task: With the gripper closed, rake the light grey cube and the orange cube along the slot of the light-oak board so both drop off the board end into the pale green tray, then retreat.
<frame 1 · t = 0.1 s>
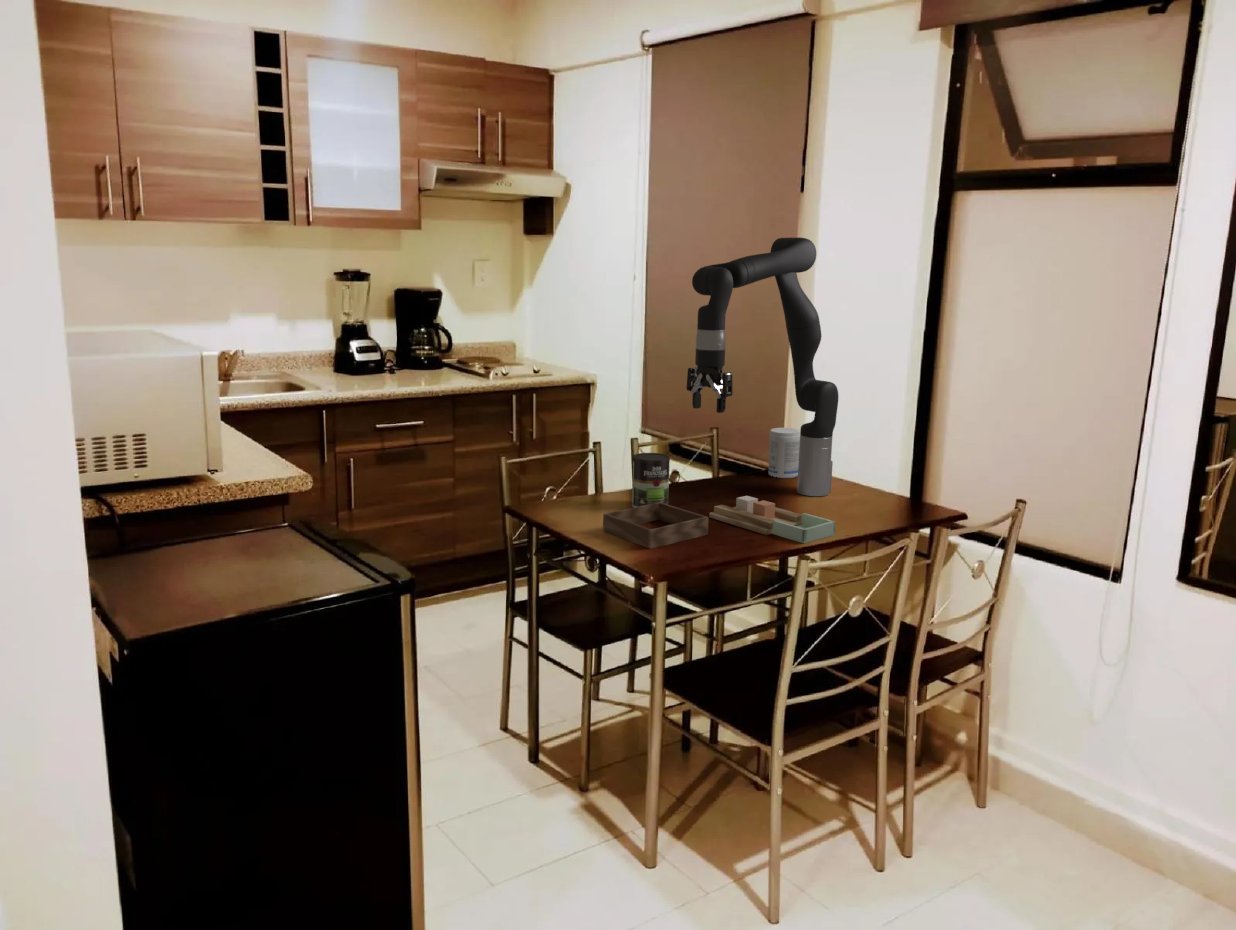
hand: (708, 410, 244), 29 cm above the table, fingers open, 8 cm apart
orange cube: (763, 517, 247), point 1 cm above the table, touching slot board
coffee can: (650, 506, 262), on the table
tray: (803, 534, 237), on the table
supplement tub: (783, 476, 299), on the table
brown shallow square box: (655, 532, 237), on the table
light grey cube: (746, 512, 252), point 1 cm above the table, touching slot board
slot board: (757, 520, 249), on the table
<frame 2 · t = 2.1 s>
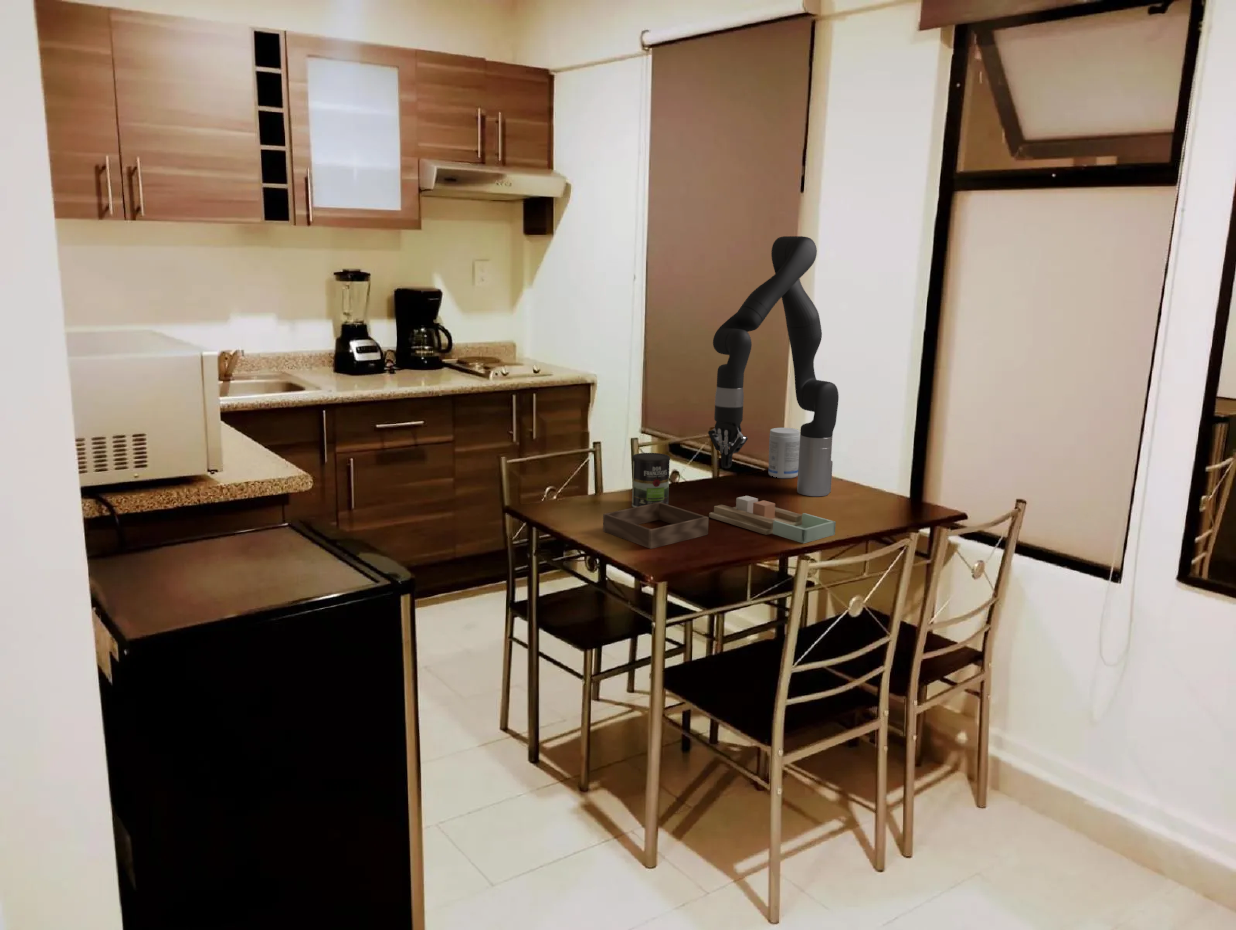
hand: (726, 467, 255), 12 cm above the table, fingers closed
nothing on the table moved.
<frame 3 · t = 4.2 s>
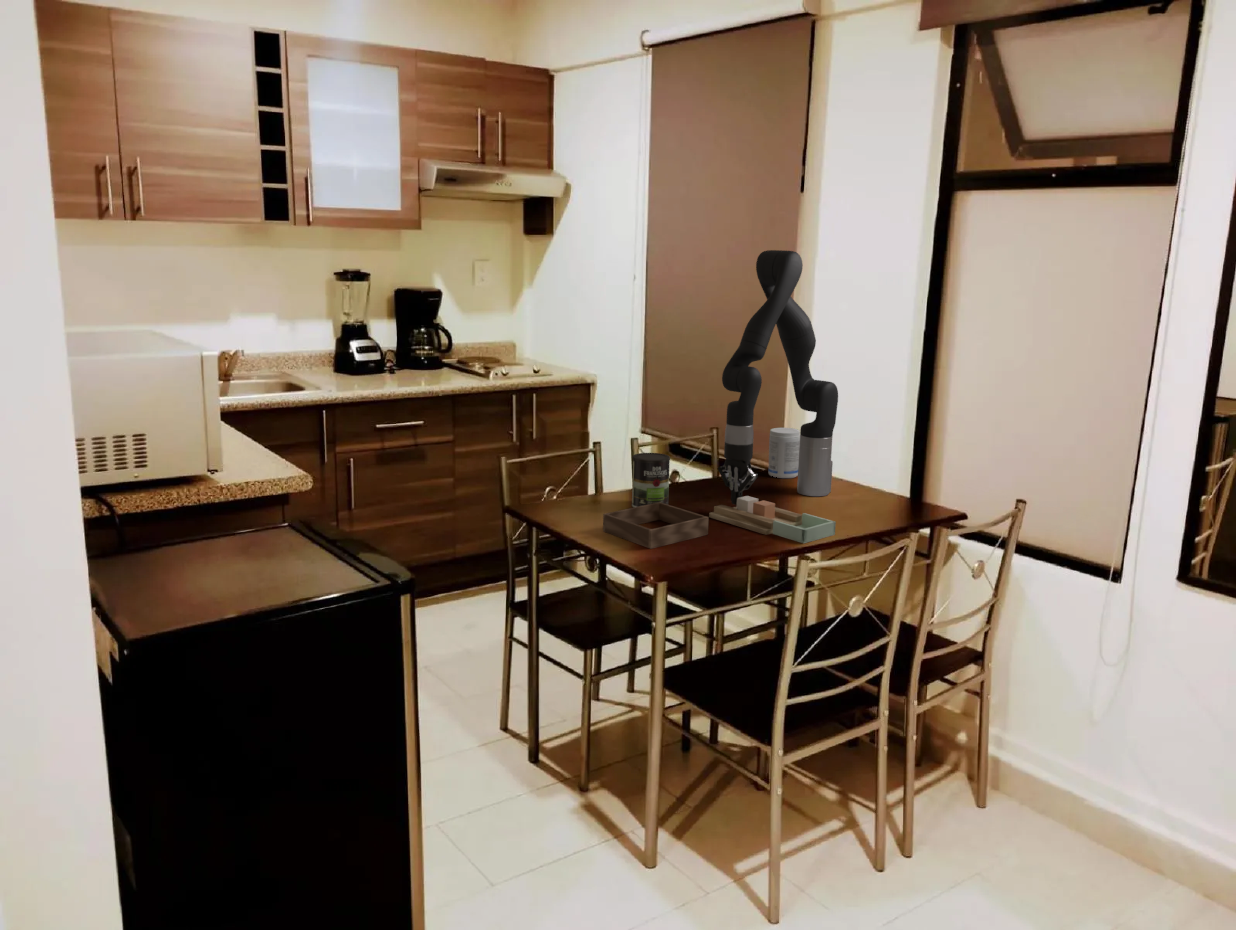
hand: (736, 503, 254), 3 cm above the table, fingers closed
light grey cube: (747, 513, 251), point 1 cm above the table, touching gripper, slot board
everything else where it was.
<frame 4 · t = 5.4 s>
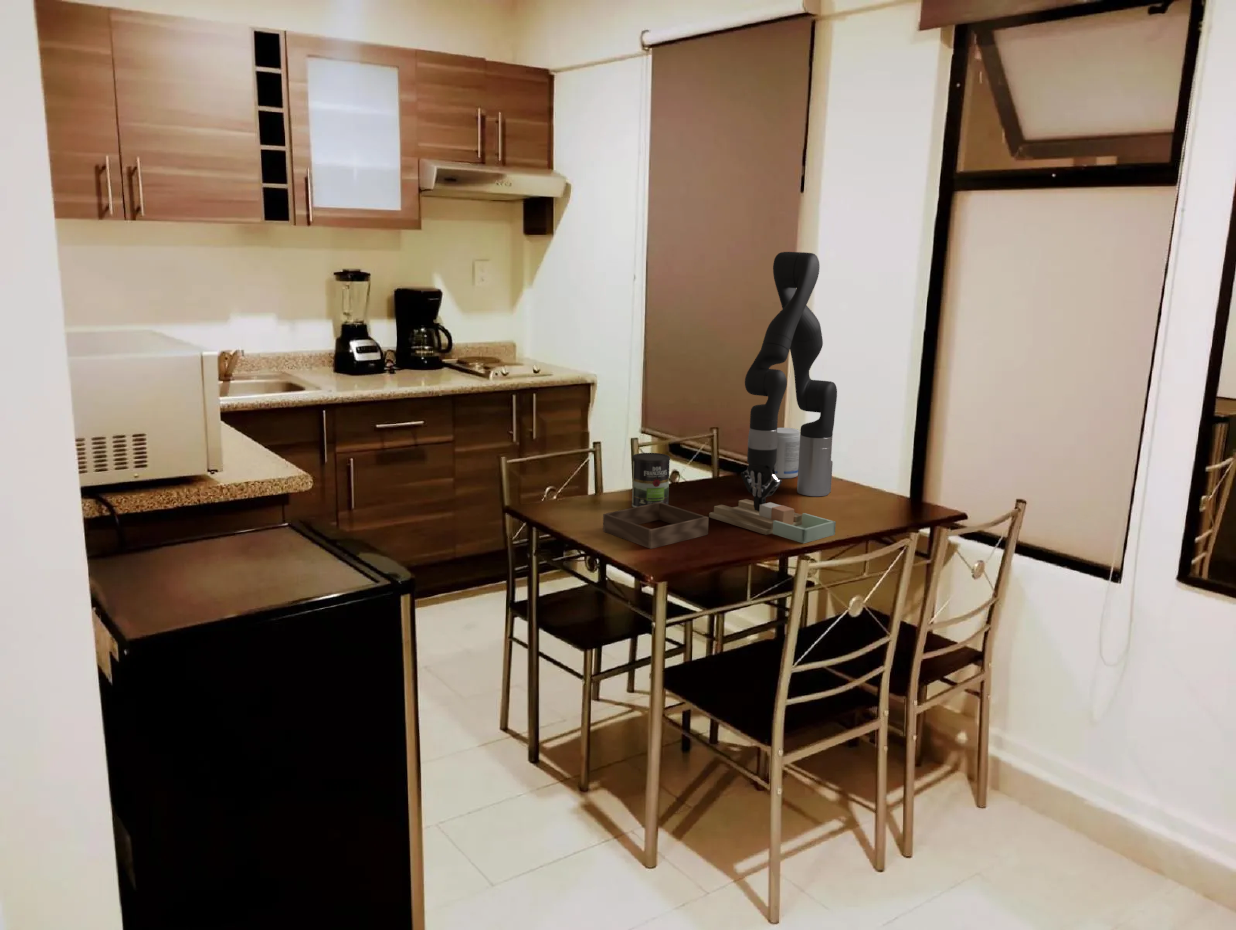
hand: (759, 510, 248), 3 cm above the table, fingers closed
orange cube: (782, 523, 242), point 1 cm above the table, touching light grey cube
light grey cube: (769, 520, 245), point 1 cm above the table, touching gripper, slot board, orange cube
everything else where it was.
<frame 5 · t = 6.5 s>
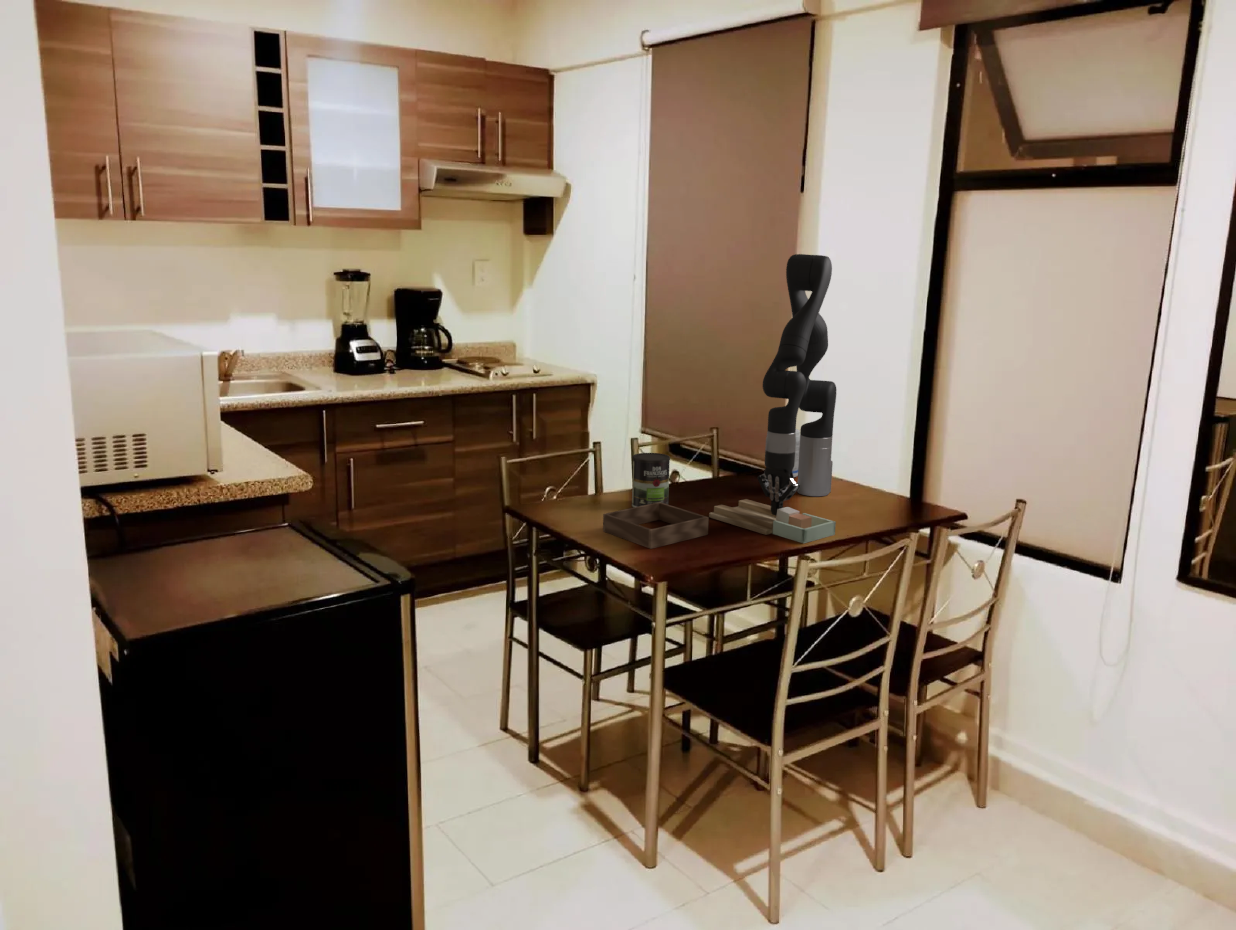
hand: (776, 514, 243), 3 cm above the table, fingers closed
orange cube: (799, 531, 238), resting on tray, touching light grey cube
light grey cube: (786, 525, 241), point 1 cm above the table, touching gripper, orange cube
everything else where it was.
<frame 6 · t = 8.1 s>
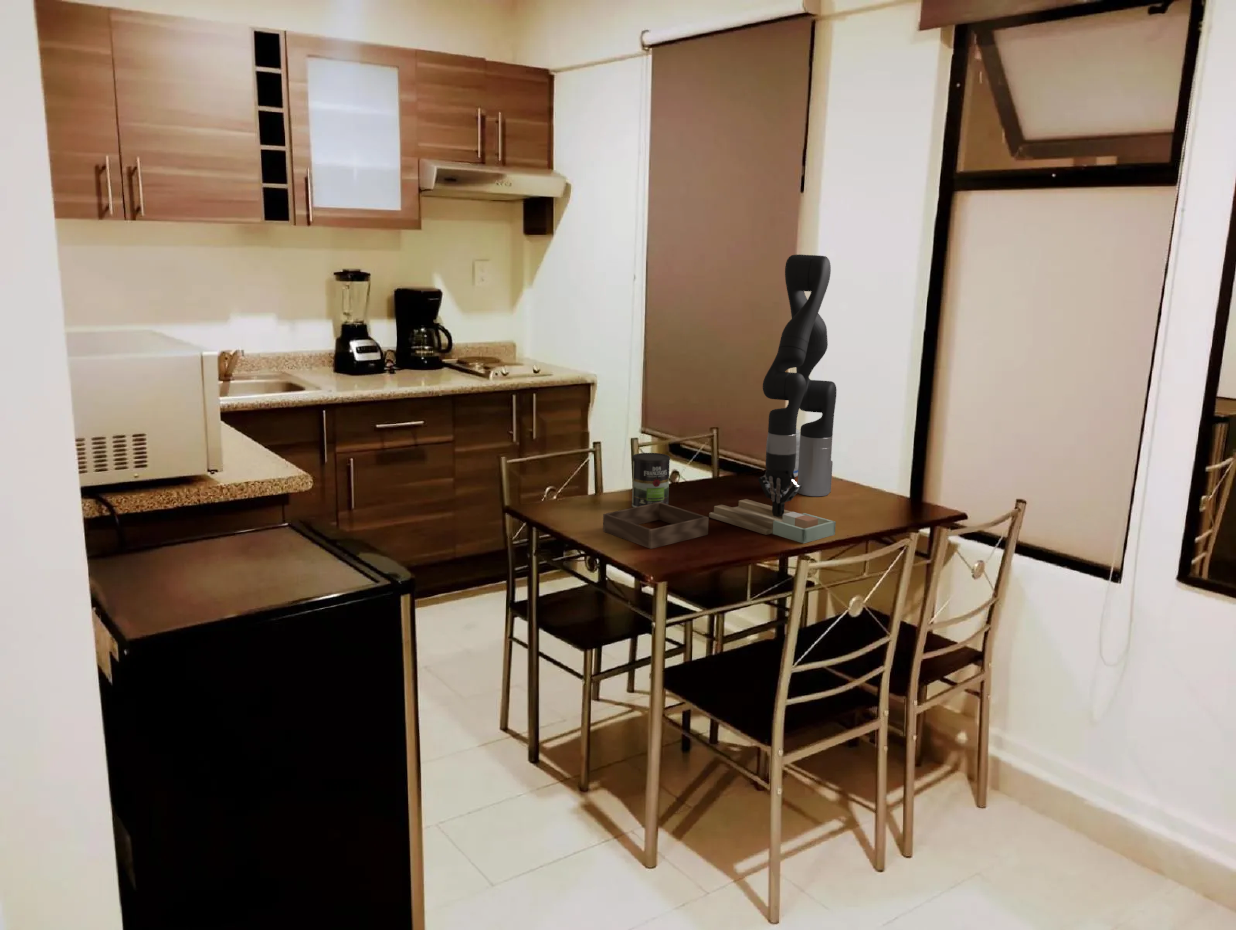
hand: (777, 515, 244), 3 cm above the table, fingers closed
orange cube: (805, 533, 237), resting on tray
light grey cube: (793, 529, 240), resting on tray
everything else where it was.
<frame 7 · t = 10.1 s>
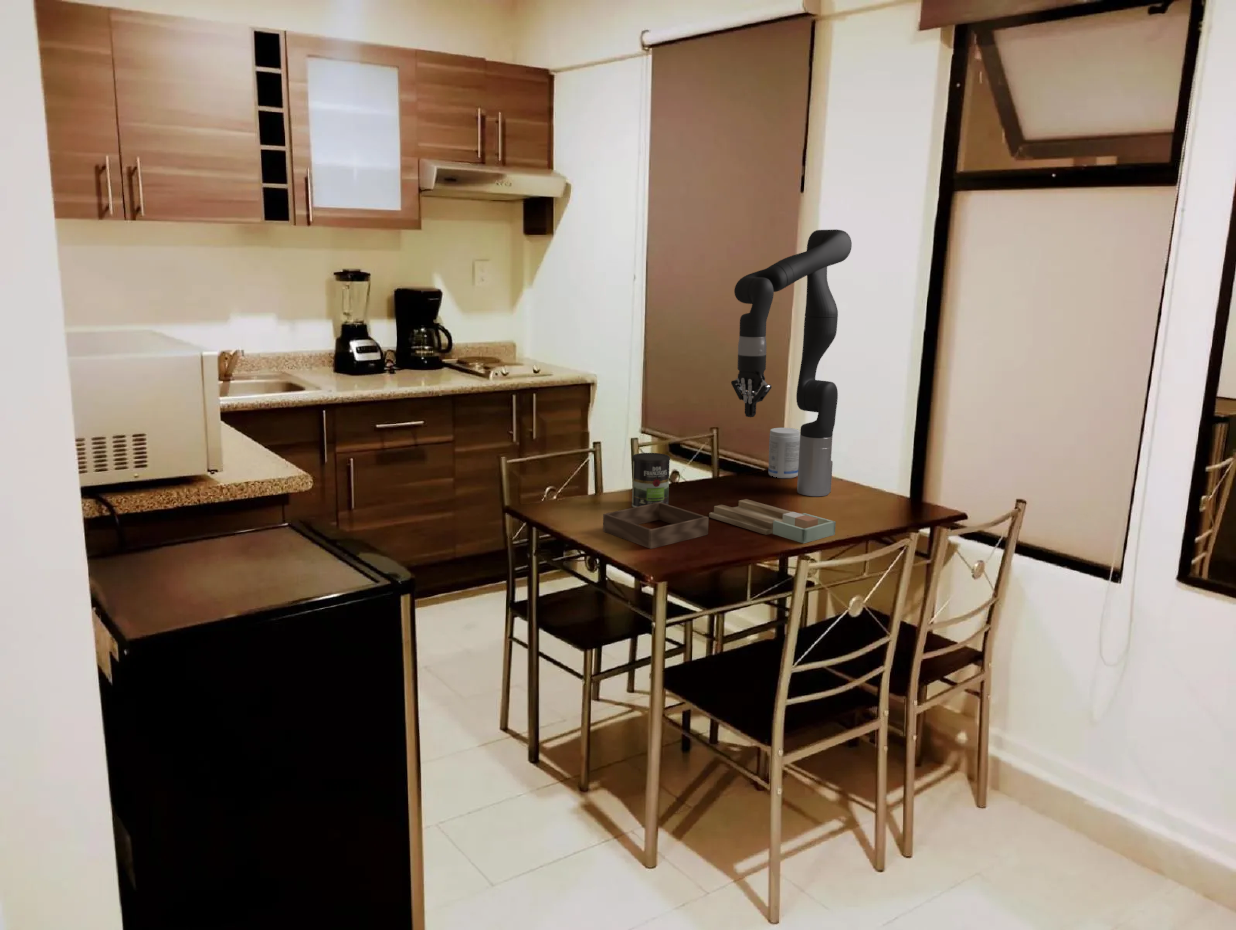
hand: (750, 416, 257), 25 cm above the table, fingers closed
nothing on the table moved.
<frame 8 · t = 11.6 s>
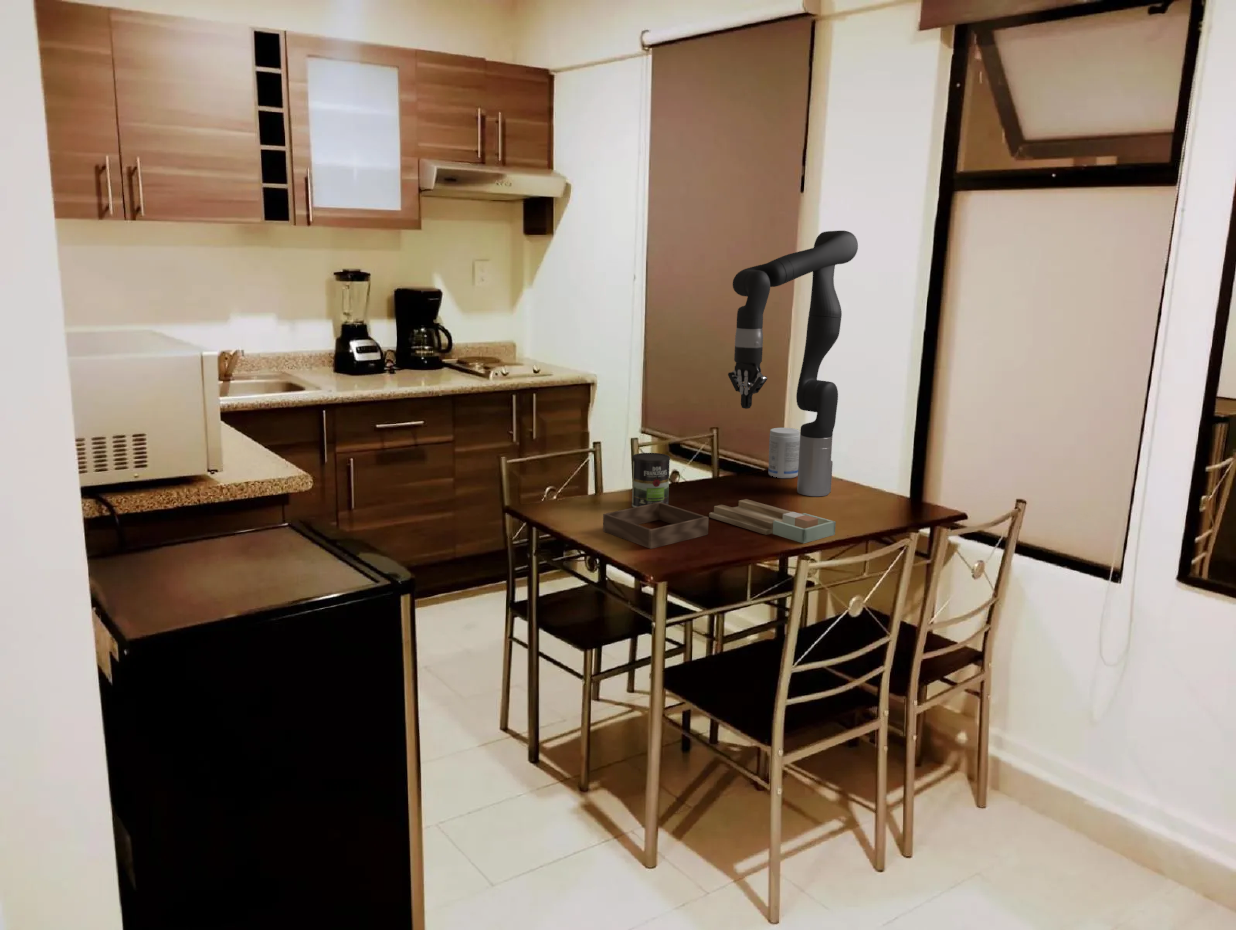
hand: (745, 408, 260), 27 cm above the table, fingers closed
nothing on the table moved.
at the end: orange cube inside the target area on the tray (0.7 cm from its centre), point 0.4 cm above the tray's base; light grey cube inside the target area on the tray (3.3 cm from its centre), point 0.4 cm above the tray's base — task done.
